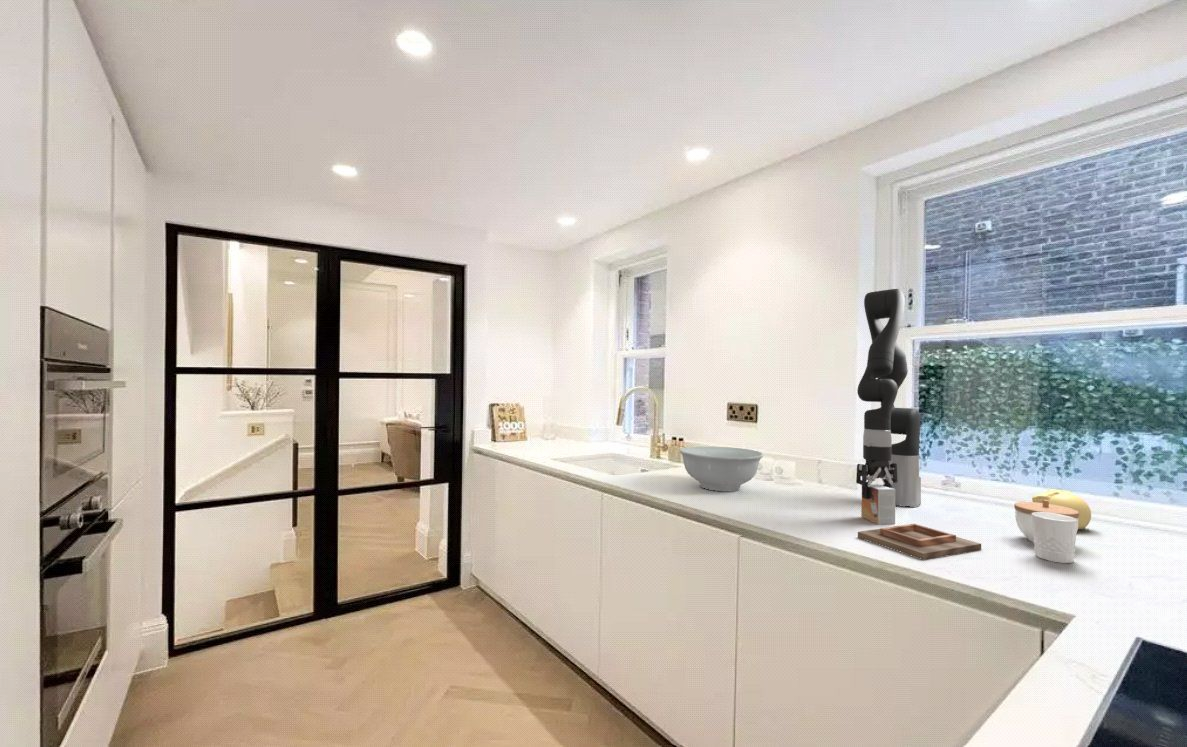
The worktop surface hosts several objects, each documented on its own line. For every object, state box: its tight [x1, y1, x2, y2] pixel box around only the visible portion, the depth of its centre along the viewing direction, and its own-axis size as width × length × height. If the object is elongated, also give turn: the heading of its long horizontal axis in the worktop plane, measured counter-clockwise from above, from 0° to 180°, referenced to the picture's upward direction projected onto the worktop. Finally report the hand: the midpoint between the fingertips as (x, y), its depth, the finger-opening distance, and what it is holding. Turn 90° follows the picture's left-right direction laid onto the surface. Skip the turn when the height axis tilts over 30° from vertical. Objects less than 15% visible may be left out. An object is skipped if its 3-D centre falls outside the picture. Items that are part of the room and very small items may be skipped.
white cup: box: [1032, 512, 1077, 564], centre depth 118 cm, size 8×8×10 cm
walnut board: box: [857, 523, 982, 560], centre depth 128 cm, size 21×18×3 cm
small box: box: [860, 483, 896, 525], centre depth 149 cm, size 8×6×10 cm
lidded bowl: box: [1013, 500, 1079, 543], centre depth 130 cm, size 13×13×11 cm
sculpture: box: [1031, 488, 1092, 530], centre depth 144 cm, size 12×12×11 cm
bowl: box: [678, 446, 764, 492], centre depth 195 cm, size 32×32×15 cm
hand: (877, 497), depth 149 cm, fingers open, 8 cm apart
